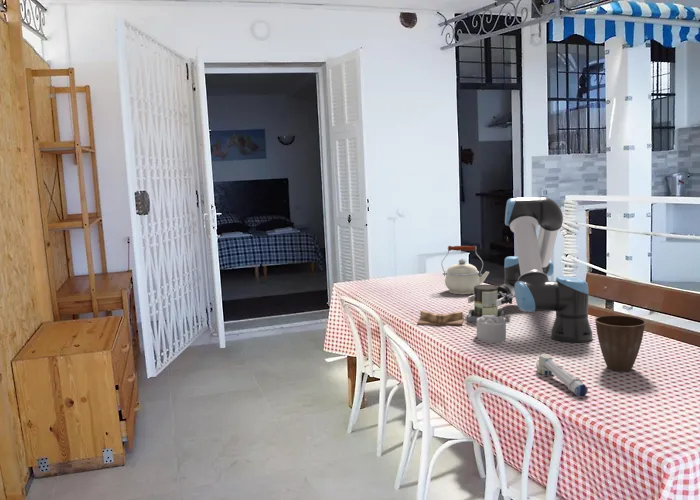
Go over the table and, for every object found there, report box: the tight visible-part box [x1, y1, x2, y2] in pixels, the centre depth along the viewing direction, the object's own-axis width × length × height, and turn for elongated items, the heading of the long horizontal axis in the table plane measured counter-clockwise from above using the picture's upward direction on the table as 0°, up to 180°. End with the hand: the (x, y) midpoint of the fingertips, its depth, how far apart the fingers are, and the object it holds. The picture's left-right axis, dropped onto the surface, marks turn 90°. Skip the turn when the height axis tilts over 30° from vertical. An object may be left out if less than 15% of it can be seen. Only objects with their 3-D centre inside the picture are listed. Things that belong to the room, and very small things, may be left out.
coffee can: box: [473, 284, 499, 317], centre depth 277 cm, size 10×10×14 cm
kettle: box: [441, 245, 490, 295], centre depth 334 cm, size 25×18×25 cm
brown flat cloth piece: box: [416, 310, 465, 327], centre depth 275 cm, size 16×19×4 cm
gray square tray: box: [467, 308, 505, 323], centre depth 278 cm, size 15×15×2 cm
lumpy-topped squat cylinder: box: [476, 315, 507, 344], centre depth 245 cm, size 10×13×9 cm
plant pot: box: [594, 315, 646, 372], centre depth 205 cm, size 15×15×16 cm
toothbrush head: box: [535, 353, 589, 397], centre depth 194 cm, size 5×7×25 cm
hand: (482, 301), depth 274 cm, fingers open, 13 cm apart
